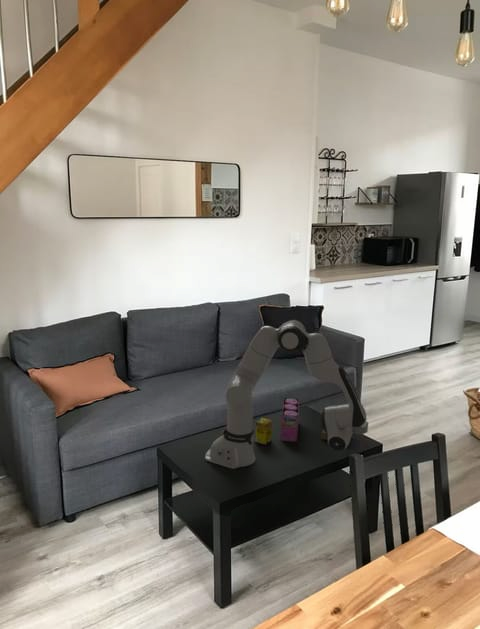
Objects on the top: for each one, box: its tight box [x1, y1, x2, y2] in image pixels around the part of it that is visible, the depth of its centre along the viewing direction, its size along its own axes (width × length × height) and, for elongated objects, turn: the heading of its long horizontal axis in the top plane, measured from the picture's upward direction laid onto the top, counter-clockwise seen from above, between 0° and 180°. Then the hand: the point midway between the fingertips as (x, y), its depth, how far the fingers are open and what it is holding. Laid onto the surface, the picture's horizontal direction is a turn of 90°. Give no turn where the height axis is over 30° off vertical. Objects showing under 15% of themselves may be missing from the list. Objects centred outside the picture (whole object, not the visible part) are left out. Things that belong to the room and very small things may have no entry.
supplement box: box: [254, 417, 273, 446], centre depth 244 cm, size 6×6×11 cm
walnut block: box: [320, 425, 328, 441], centre depth 252 cm, size 10×10×8 cm
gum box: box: [280, 397, 300, 443], centre depth 256 cm, size 24×8×14 cm, turn 172°
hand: (347, 417), depth 236 cm, fingers closed on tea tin, 5 cm apart
